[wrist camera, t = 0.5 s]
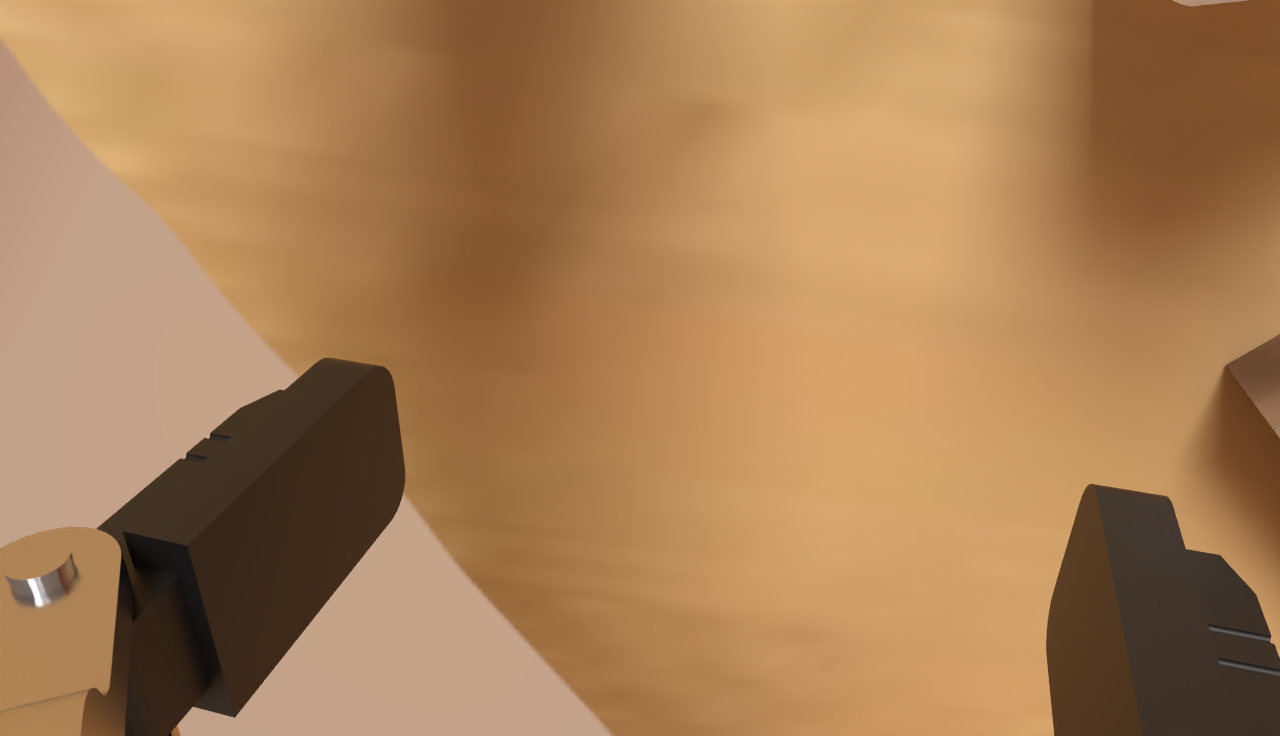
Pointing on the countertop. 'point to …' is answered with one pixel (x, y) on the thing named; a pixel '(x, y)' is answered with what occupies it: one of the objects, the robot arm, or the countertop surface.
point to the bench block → (1261, 379)
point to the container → (1203, 2)
